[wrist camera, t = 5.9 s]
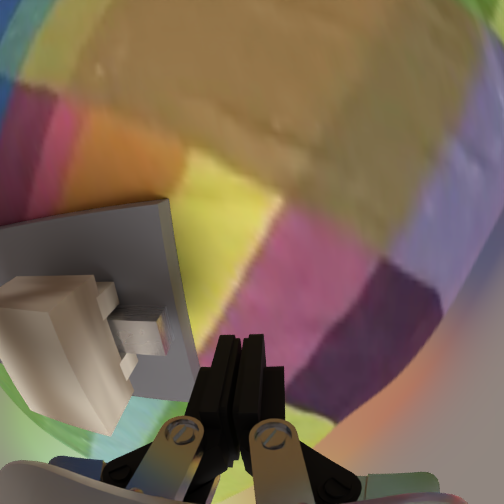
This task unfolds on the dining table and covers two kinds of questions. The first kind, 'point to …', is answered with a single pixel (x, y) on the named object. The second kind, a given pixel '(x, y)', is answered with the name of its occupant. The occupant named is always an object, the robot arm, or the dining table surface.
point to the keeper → (65, 349)
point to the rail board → (119, 283)
